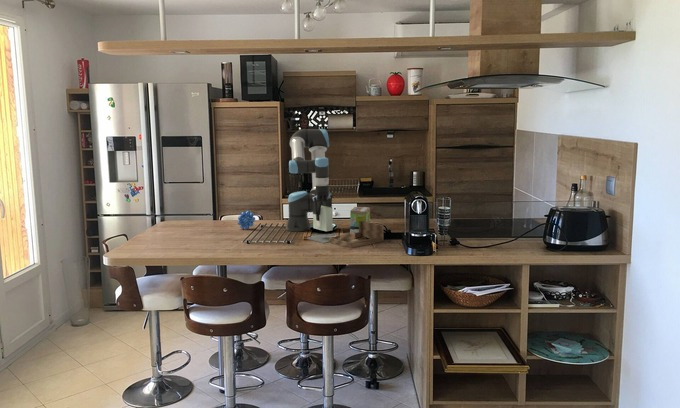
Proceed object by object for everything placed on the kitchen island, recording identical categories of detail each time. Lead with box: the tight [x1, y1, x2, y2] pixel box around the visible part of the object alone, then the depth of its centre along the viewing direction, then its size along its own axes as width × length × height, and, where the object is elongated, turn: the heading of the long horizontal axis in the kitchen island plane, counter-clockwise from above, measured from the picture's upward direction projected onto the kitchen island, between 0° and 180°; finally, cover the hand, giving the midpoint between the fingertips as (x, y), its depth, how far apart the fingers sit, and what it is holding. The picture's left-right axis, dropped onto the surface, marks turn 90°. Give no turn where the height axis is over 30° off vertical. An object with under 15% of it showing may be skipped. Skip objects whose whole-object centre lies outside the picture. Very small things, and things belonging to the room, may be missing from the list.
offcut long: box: [338, 238, 360, 243], centre depth 312 cm, size 12×3×3 cm, turn 56°
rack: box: [328, 221, 384, 249], centre depth 315 cm, size 18×25×9 cm
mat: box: [305, 234, 333, 244], centre depth 322 cm, size 16×12×1 cm
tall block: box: [312, 206, 334, 232], centre depth 320 cm, size 12×4×13 cm, turn 40°
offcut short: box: [339, 232, 356, 240], centre depth 311 cm, size 8×3×3 cm, turn 93°
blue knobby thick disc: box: [237, 209, 256, 230], centre depth 352 cm, size 12×7×12 cm, turn 79°
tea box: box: [349, 206, 371, 233], centre depth 338 cm, size 15×10×15 cm, turn 168°
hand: (322, 225), depth 321 cm, fingers closed on tall block, 4 cm apart
